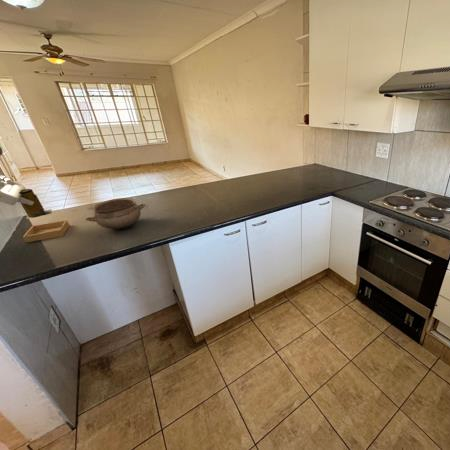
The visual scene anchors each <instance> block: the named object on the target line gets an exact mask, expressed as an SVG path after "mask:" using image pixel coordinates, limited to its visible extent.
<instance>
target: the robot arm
mask: <svg viewBox="0 0 450 450" xmlns="http://www.w3.org/2000/svg"><path fill="white" fill-rule="evenodd" d="M3 153H4V152H3V148H2V147H1V145H0V157H1V156H2V155H3ZM24 189H27V187H26V186H24V185H23V184H21V183H19V182H17V181H14V180H12V179H10V178H6V176H5V175H3V174H0V202H2V203H3V204H7V205H10V206H15V205H16V204H17V203H24V204H29V205H33V203H34V201H32V200H27V199H24V198H23V197H21V195H22V194H20V193H19V192H20V190H24Z"/></svg>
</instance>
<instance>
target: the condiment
mask: <svg viewBox="0 0 450 450" xmlns="http://www.w3.org/2000/svg"><path fill="white" fill-rule="evenodd" d="M19 193H20V194H22V195H21V197H23V198H24V199H27V200H32V201H34V203H33V205H29V204H24V203H20V205H21V207H22V209H23V210H24V213H25V214H26V220H30V219H34V218H39V217H42V216H48V215H52V213H53V212H52V208H50V209H45V208H44V207H43V204H42V203H41V201H40V199H39V197H38V196H37V194H36V193H35V192H34V191H33V189H32V188H26V189H24V190H20V192H19Z"/></svg>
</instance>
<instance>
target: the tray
mask: <svg viewBox="0 0 450 450" xmlns="http://www.w3.org/2000/svg"><path fill="white" fill-rule="evenodd" d="M69 227H70V223H69V221H68V219H65V220H57V221H53V222H52V221H51V222H47V223H41V224H35V225H32V226H31V227H30V228H29V229H28V230H27V231H26V232H25V234H23V236H22V238H23V241H24V242H25V243H32V242H37V241H42V240H48V239H53V238H59V237H63V236H64V235H65V234H66V232H67V230H68V229H69Z"/></svg>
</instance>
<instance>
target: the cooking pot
mask: <svg viewBox="0 0 450 450" xmlns="http://www.w3.org/2000/svg"><path fill="white" fill-rule="evenodd" d="M145 206H146V204H145V203H140V204H137V203H136V199H134V198H133V197H132V198H131V197H120V198H113V199H108V200H105V201H102V202H98V203H97V204H95V205H94V206H93V207H92V211H93V216H91V217H90V216H89V217H86V218H85V221H88V222H93V223H94V222H95V223H96V224H98V225H99V226H100V227H102V228H104V229H108V230H125V229H128V228H129V227H131V226H132V225H134V224H135V223H136V222H137V221H139V219H140V218H141V214H142V212H141V211H142V210H143V208H145Z"/></svg>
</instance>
